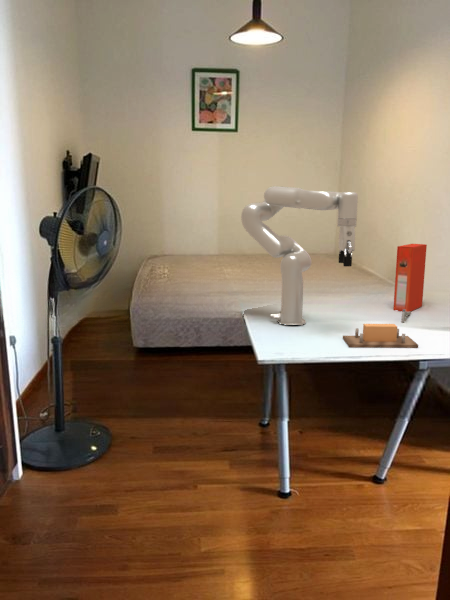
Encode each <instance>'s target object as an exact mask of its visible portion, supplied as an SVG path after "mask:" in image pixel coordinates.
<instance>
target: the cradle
mask: <svg viewBox="0 0 450 600" xmlns="http://www.w3.org/2000/svg"><path fill="white" fill-rule="evenodd" d="M354 330H355V335H342V340H343V341H344V342H345V344H346V345H347V347H348V348H355V349H357V348H358V349H359V348H360V349H361V348H365V349H366V348H372V349H373V348H374V349H375V348H377V349H378V348H379V349H380V348H381V349H382V348H384V349H385V348H386V349H387V348H388V349H395V348H396V349H419V344H418V343H417V342H415V340H414V339H412V338H411V337H410V336H408V335H406V333H401V335H400V328H397V339H396V342H380V341H364V340H363V332H362V333H359V332H360V330H359V328H355V329H354Z"/></svg>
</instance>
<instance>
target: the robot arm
mask: <svg viewBox="0 0 450 600" xmlns="http://www.w3.org/2000/svg"><path fill="white" fill-rule="evenodd" d="M263 198H264V199H263V201H262V202H251V203H249V204H247V205H245V206H244V207H243V209H242V211H241V224H242V226H243V229H244V230H245V231H246V233H247V234H248V235H249V236H250V237H252V238H253V240H254V241H255V242H256V243H258V245H259V246H261V248H263V250H264V251H266V253H268V255H269V256H271V257H272V258H282V259H281V261H280V264H279V265H280V266H279V267H280V274H281V298H280V299H281V300H280V301H281V304H280V306H281V307H280V311H279V313H270V318H271V319H273V320H276V319H277V321H278V322H279V323H281V324H286V325H301V326H304V325H305V324H306V322H307V321H306V319H304V318H303V304H304V303H303V302H304V278H303V273H304V272H306V271H308V270H309V269H310V267H311V266H312V263H313V262H312V258H311V256H310V254H309V253H308V252H307V251H306V249H305V248H303V247H302V246H301V245H300V244H299V243H298V242H297V241H296V240H295V239H294V238H292V237H291V236H289V235H286V234H284V235H279V234H277V233H276V232H275V231H273V229H272V228H271V227H270V226H268V225H267V224H266V223H264V222H265V221H266V222H267V221H269V220H270V219H272V218H274V217H275V215H277V213H279V212H280V211H281V210H282V209H284V208H291V209H305V210H313V211H314V210H315V211H334V210H337V227H339V230H338V231H339V233H338V249H339V250H338V264H343V267H352V264H353V262H352V261H353V252H355V249H356V229H355V228H356V227H357V219H358V218H357V217H358V203H359V201H358V200H359V195H358V193H357V192H356V191H341V192H340V191H328V190H327V191H322V190H309V189H303V188H301V187H294V186H293V187H291V186H290V187H289V186H278V185H276V186H275V185H273V186H270V187H268V188H266V189H265V191H264V194H263ZM277 321H276V322H277ZM278 322H277V323H278ZM279 323H278V324H279ZM281 324H280V325H281ZM303 324H304V325H303Z"/></svg>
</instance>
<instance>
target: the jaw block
mask: <svg viewBox="0 0 450 600" xmlns="http://www.w3.org/2000/svg"><path fill="white" fill-rule="evenodd" d="M397 329H398V326H397V325H396V324H395V323H363V324H362V334H363V340H364V341H380V342H396V339H397Z"/></svg>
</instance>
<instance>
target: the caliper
mask: <svg viewBox="0 0 450 600" xmlns="http://www.w3.org/2000/svg"><path fill="white" fill-rule="evenodd" d="M405 310H406V309H403V312H401V321H400V322H401V323H402V322H403V323H405V322H404V321H406V318H407V316H411V315H410V314H412V311H410V312H407V311H405Z"/></svg>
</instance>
